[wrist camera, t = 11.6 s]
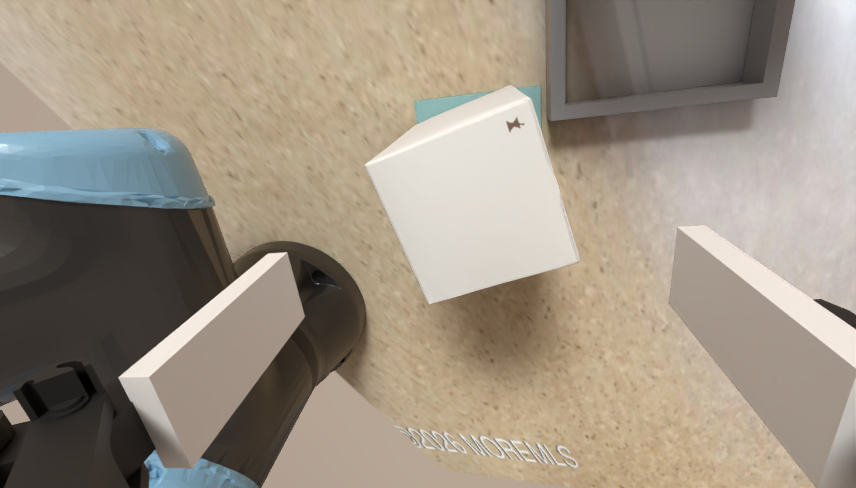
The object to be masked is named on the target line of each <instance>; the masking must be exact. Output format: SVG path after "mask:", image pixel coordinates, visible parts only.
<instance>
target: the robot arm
mask: <svg viewBox="0 0 856 488" xmlns="http://www.w3.org/2000/svg"><path fill="white" fill-rule="evenodd" d="M213 206H215V201H214V199H213V198H212V197H211V196H209V195H208V193H207V191H206V188H205V186H204V184H203V181H202V179H201V177H200V174H199V172H198V170H197V167H196V165H195V163H194V160H193V158H192V156H191V154H190V152H189V150H188V149H187V147H186V146H185V145H184V144H183V143H182V142H181V141H180V140H179V139H178V138H176V137H175V136H173V135H171V134H169V133H167V132H165V131H161V130H157V129H149V128H118V129H85V130H59V131H58V130H57V131H34V132H33V131H32V132H9V133H0V406H2V405H5V404H7V403H10V402H12V401H15V400H18V401H19V403H20V404H21V406H22V408H23V409H24V411H25V412H26V414H27V415H28V417H29V419H30V420H31V421H28V422H23V423H19V424H15V425H11V423H10V422H9V420H8V419H7V417H6V416H5V415H4V413H3V411H2V410H0V488H261V487H262V485H263V483H264V481H265V479H266V478H267V476H268V474H269V472H270V470H271V468H272V466H273V464H274V462H275V460H276V459H277V456H278V455H279V453H280V451H281V449H282V447H283V445H284V443H285V442H286V440H287V438H288V436H289V434H290V432H291V430H292V428H293V426H294V425H295V423H296V421H297V419H298V417H299V415H300V413H301V412H302V410H303V408H304V406H305V404H306V402H307V400H308V399H309V397H310V395H311V393H312V391H313V389H314V388H315V386H317V385H318V384H319V383H320V382H322V381H323V380H324V379H325V378H326V377H327V376H328V375H329V373H330V372H332V371H334V370H336V369H337V368H338V367H340V366H341V365H342V364H343V363H344V362H345V361H346V360H347V359H348V358H349V357H350V356H351V354H352V353H353V351H354V350H355V348H356V346H357V343H358V341H359V339H360V337H361V335H362V332H363V329H364V325H365V307H364V302H363V298H362V295H361V293H360V291H359V289H358V287H357V285H356V283H355V281H354V280H353V278H352V277H351V276H350V275H349V273H348V272H347V271H346V270H345V269H344V268H343V267H342V266H341V265H340V264H339V263H338V262H337V261H335V260H334V259H333V258H331V257H330V256H328V255H327V254H325V253H323V252H322V251H320V250H318V249H315V248H313V247H310V246H307V245H304V244H300V243H295V242H286V241H279V242H270V243H266V244H262V245H260V246H257V247H255V248H253V249H251V250H250V251H248V252H247V253H245V254H244V255H243V256H241V257H240V258H239V259H237V260H236V261H235V262H234V263H232V260H231V257H230V255H229V252H228V249H227V247H226V244H225V241H224V238H223V235H222V233H221V230H220V227H219V224H218V221H217V219H216V216H215V213H214V210H213ZM669 305H670V306H671V307H672V309H673V310H674V311H675V312H676V314H677V315H678V316H679V317H680V319H681V320H682V321H683V322H684V324H685V325H686V326H687V327H688V329H689V330H690V331H691V332H692V333H693V335H694V336H695V337H696V338H697V340H698V341H699V342H700V343H701V345H702V346H703V347H704V348H705V350H706V351H707V352H708V353H709V355H710V356H711V357H712V358H713V360H714V361H715V362H716V363H717V365H718V366H719V367H720V368H721V370H722V371H723V372H724V373H725V375H726V376H727V377H728V378H729V380H730V381H731V382H732V383H733V385H734V386H735V387H736V388H737V390H738V391H739V392H740V393H741V395H742V396H743V397H744V398H745V400H746V401H747V402H748V403H749V405H750V406H751V407H752V408H753V410H754V411H755V412H756V413H757V415H758V416H759V417H760V418H761V420H762V421H763V422H764V423H765V425H766V426H767V427H768V428H769V430H770V431H771V432H772V433H773V435H774V436H775V437H776V438H777V440H778V441H779V442H780V443H781V445H782V446H783V447H784V448H785V450H786V451H787V452H788V453H789V455H790V456H791V457H792V458H793V460H794V461H795V462H796V463H797V464H798V466H799V467H800V468H801V469H802V471H803V472H804V473H805V474H806V476H807V477H808V478H809V479H810V481H811V482H812V483H813V484H814V486H815V487H816V488H856V315H855V314H854V313H852V312H850V311H849V310H846V309H844V308H841V307H839V306H836V305H834V304H831V303H829V302H826V301H824V300H822V299H815V300H812V299H811V298H809V297H808V296H806V295H805V294H804V293H802V292H801V291H799V290H798V289H796V288H795V287H793V286H792V285H790V284H789V283H788V282H786V281H785V280H783V279H782V278H780V277H779V276H777V275H776V274H774V273H773V272H772V271H770V270H769V269H767V268H766V267H764V266H763V265H761V264H760V263H758V262H757V261H756V260H754V259H753V258H751V257H750V256H748V255H747V254H745V253H744V252H742V251H741V250H740V249H738V248H737V247H735V246H734V245H732V244H731V243H729V242H728V241H726V240H725V239H724V238H722V237H721V236H719V235H718V234H716V233H715V232H713V231H712V230H710V229H709V228H708V227H706V226H705V225H703V226H687V227H677V236H676V244H675V253H674V262H673V270H672V279H671V288H670V296H669Z"/></svg>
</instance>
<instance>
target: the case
mask: <svg viewBox="0 0 856 488" xmlns="http://www.w3.org/2000/svg"><path fill="white" fill-rule="evenodd" d="M794 3H795V0H755V2H754V9H753V15H752V21H751V28H750V34H749V40H748V47H747V53H746V60H745V66H744V72H743V79H742V82H739V83H731V84H722V85H713V86H705V87H696V88H688V89H679V90H670V91H662V92H653V93H645V94H636V95H627V96H619V97H610V98H602V99H593V100H584V101H576V102H567V103H565V63H566V0H545V11H546V98H547V118H548V119H549V120H550V121H558V120H567V119H576V118H585V117H594V116H603V115H612V114H622V113H631V112H640V111H649V110H658V109H667V108H676V107H686V106H695V105H704V104H713V103H722V102H731V101H740V100H749V99H759V98H768V97H777V93H778V88H779V82H780V77H781V72H782V66H783V61H784V56H785V51H786V45H787V40H788V35H789V29H790V24H791V19H792V14H793V8H794Z"/></svg>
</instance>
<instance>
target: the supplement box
mask: <svg viewBox="0 0 856 488" xmlns="http://www.w3.org/2000/svg"><path fill="white" fill-rule="evenodd" d="M365 168H366V170H367V172H368V174H369V177H370V179H371V181H372V183H373V185H374V188H375V190H376V192H377V194H378V196H379V198H380V201H381V203H382V205H383V207H384V209H385V211H386V214H387V216H388V218H389V220H390V222H391V224H392V227H393V229H394V231H395V233H396V235H397V237H398V240H399V242H400V244H401V246H402V248H403V251H404V253H405V255H406V257H407V259H408V262H409V264H410V266H411V268H412V270H413V272H414V275H415V277H416V279H417V281H418V283H419V285H420V287H421V289H422V292H423V294H424V296H425V298H426V300H427V302H428V304H429V305H430V304H433V303H436V302H440V301H443V300H447V299H451V298H454V297H458V296H461V295H464V294H468V293H471V292H474V291H478V290H481V289H485V288H488V287H492V286H495V285H499V284H502V283H506V282H510V281H513V280H517V279H521V278H524V277H528V276H532V275H536V274H539V273H543V272H546V271H550V270H554V269H557V268H561V267H564V266H568V265H572V264H576V263H579V261H580V257H579V253H578V250H577V247H576V244H575V240H574V237H573V234H572V230H571V227H570V224H569V221H568V217H567V214H566V211H565V208H564V204H563V201H562V198H561V194H560V189H559V186H558V182H557V180H556V178H555V174H554V171H553V168H552V165H551V161H550V158H549V155H548V151H547V148H546V145H545V142H544V139H543V135H542V132H541V128H540V125H539V122H538V118H537V115H536V112H535V109H534V105H533V102H532V100H531V98H529V97H528V96H526V95H525V94H523V93H522V92H520V91H519V90H518V89H516V88H515V87H513V86H512V85H510V86H507V87H504V88H502V89H499V90H497V91H495V92H492V93H490V94H487V95H485V96H482V97H480V98H477V99H475V100H472V101H470V102H467V103H465V104H463V105H460V106H458V107H455V108H453V109H451V110H448V111H446V112H444V113H441V114H439V115H436V116H434V117H432V118H430V119H428V120H425V121H423V122H421V123H419V124H417V125H415V126H414V127H412V128H411V129H410V130H408V131H407V132H406V133H405V134H403V135H402V136H401V137H400V138H399V139H397V140H396V141H395V142H394V143H392V144H391V145H390V146H389V147H387V148H386V149H385V150H383V151H382V152H381V153H380V154H378V155H377V156H376V157H374V158H373V159H372V160H370V161H369V162H368V163H367V164H366V165H365Z"/></svg>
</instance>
